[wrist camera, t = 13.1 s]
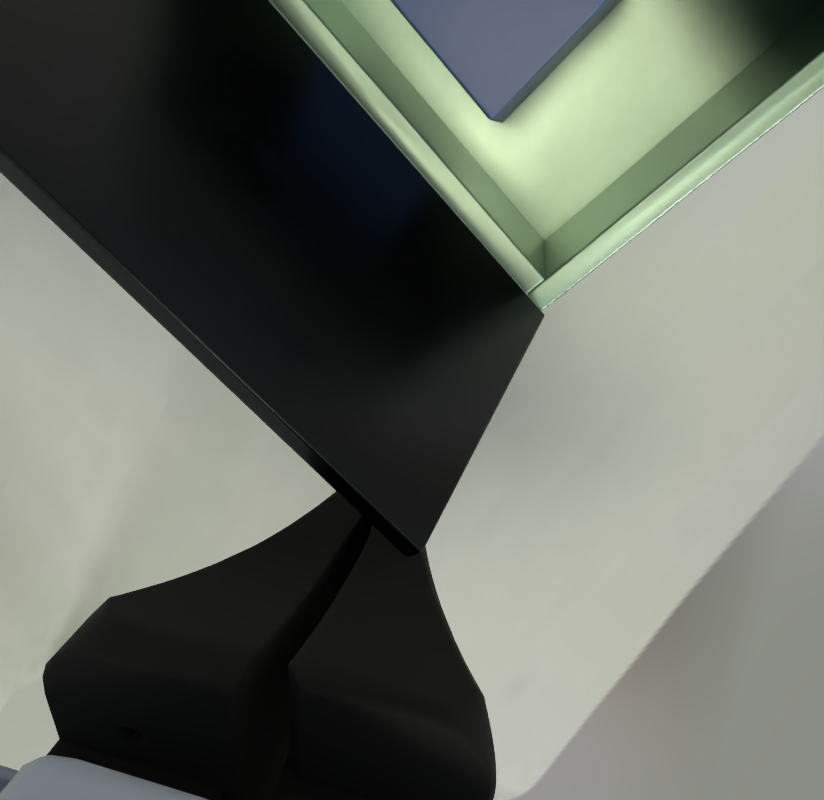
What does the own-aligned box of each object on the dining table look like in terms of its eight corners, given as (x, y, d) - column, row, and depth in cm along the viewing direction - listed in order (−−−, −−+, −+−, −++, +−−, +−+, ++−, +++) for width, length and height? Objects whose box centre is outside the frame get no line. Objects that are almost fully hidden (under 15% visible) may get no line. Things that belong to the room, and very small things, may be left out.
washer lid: (545, 314, 13) (533, 323, 14) (125, -165, 11) (120, -143, 11) (422, 553, 8) (406, 558, 8) (-432, -264, 6) (-413, -219, 6)
